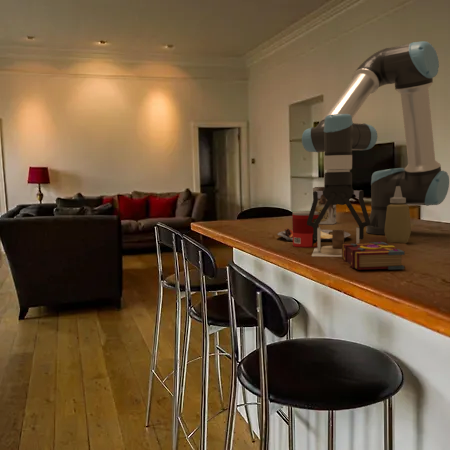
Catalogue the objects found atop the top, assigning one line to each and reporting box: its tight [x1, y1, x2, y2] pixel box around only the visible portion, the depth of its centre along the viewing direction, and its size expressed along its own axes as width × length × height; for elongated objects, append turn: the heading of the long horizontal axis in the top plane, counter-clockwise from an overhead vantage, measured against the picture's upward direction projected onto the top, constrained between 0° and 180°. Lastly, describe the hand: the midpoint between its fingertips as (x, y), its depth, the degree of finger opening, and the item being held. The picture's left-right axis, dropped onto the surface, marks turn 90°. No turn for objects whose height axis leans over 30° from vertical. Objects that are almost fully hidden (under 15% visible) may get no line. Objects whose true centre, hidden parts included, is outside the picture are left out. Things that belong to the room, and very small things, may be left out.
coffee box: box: [312, 186, 337, 225], centre depth 222 cm, size 9×6×16 cm
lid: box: [320, 229, 345, 255], centre depth 143 cm, size 10×10×6 cm
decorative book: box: [341, 241, 405, 271], centre depth 126 cm, size 11×16×5 cm
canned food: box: [292, 210, 320, 249], centre depth 156 cm, size 8×8×11 cm
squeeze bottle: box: [384, 186, 412, 244], centre depth 160 cm, size 8×8×18 cm
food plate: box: [276, 228, 352, 243], centre depth 176 cm, size 25×23×4 cm
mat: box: [311, 247, 342, 258], centre depth 143 cm, size 14×14×1 cm
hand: (338, 250), depth 143 cm, fingers closed on lid, 10 cm apart
